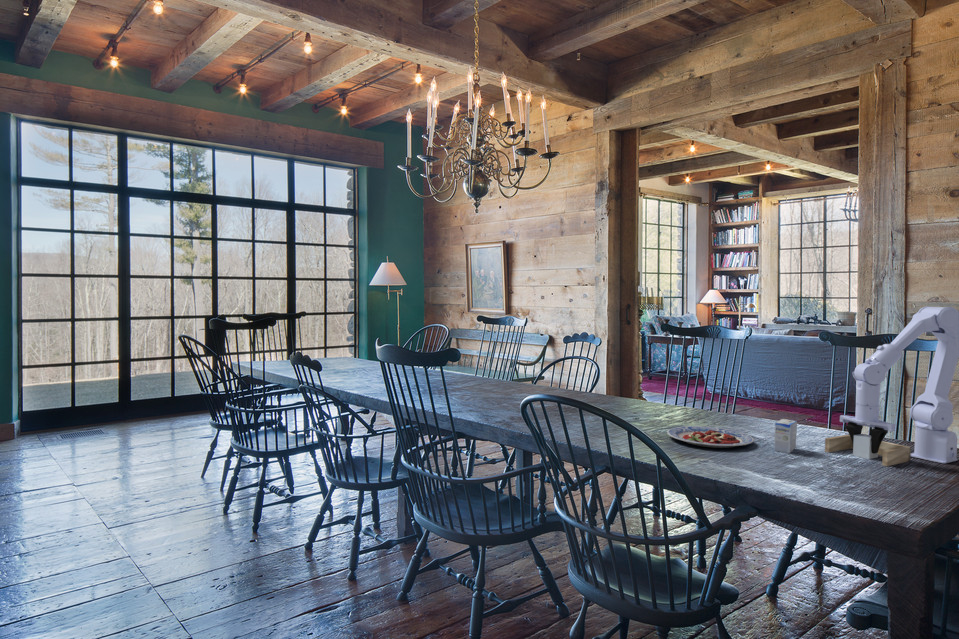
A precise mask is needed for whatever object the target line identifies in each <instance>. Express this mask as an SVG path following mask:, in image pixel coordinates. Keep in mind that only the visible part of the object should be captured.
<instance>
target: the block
mask: <svg viewBox="0 0 959 639" xmlns="http://www.w3.org/2000/svg"><path fill="white" fill-rule="evenodd" d="M871 444H872V441H871V434H865V433H861V434H858V435H854V443H853V449H852V456H854V457H858V458H863V459H867V460H872V459H876V458H878V457H879V455H878V453H875V454H874V453H872V452H871Z"/></svg>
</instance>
